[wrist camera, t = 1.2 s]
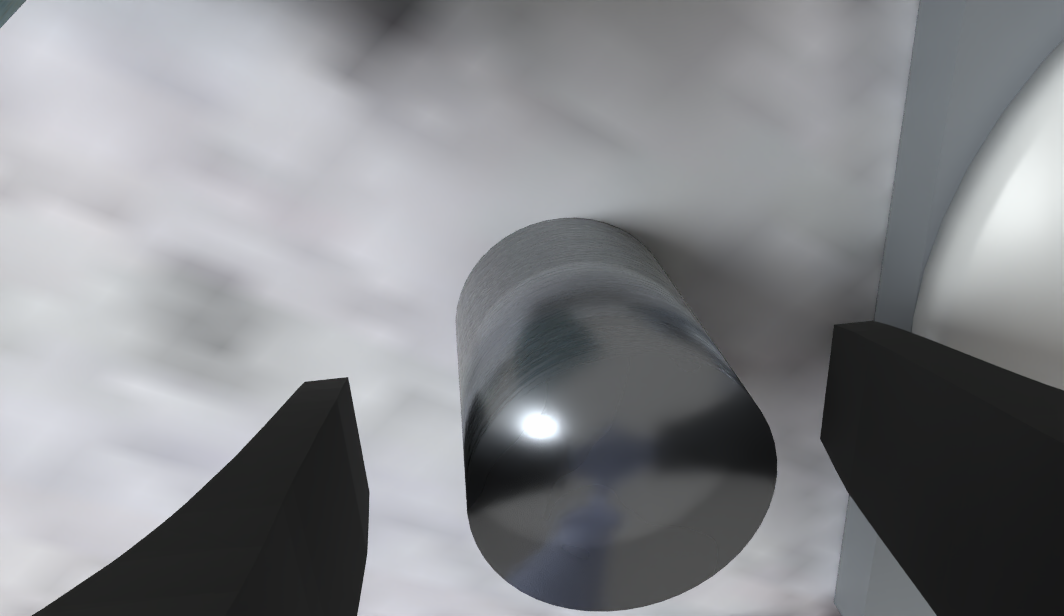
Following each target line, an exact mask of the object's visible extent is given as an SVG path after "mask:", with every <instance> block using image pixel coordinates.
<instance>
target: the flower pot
mask: <svg viewBox="0 0 1064 616" xmlns="http://www.w3.org/2000/svg"><path fill="white" fill-rule="evenodd" d="M25 1H26V0H0V28H1V27H2V26H3V25H4V24H5V23H6V22H7V20H8V19H9V18H10V17H11V16H12V15H13V14H14V13H15V12H16V11H17V10H18V9H19V8H20V7H21V5H22V4H23V3H24V2H25Z"/></svg>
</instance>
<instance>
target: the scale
mask: <svg viewBox="0 0 1064 616" xmlns="http://www.w3.org/2000/svg"><path fill="white" fill-rule="evenodd" d="M874 321H877V322H880V323H884V324H888V325H891V326H894V327H897V328H900V329H903V330H906V331H909V332H911V333H914V334H917V335H919V336H922V337H925V338H927V339H930V340H933V341H935V342H938V343H940V344H943V345H945V346H948V347H950V348H953V349H955V350H958V351H961V352H963V353H966V354H968V355H971V356H973V357H976V358H978V359H981V360H983V361H986V362H988V363H991V364H994V365H996V366H999V367H1001V368H1004V369H1006V370H1009V371H1012V372H1014V373H1017V374H1020V375H1022V376H1025V377H1028V378H1030V379H1033V380H1036V381H1038V382H1041V383H1044V384H1047V385H1049V386H1052V387H1055V388H1058V389H1061V390H1064V0H920V3H919V10H918V17H917V24H916V31H915V38H914V45H913V52H912V59H911V66H910V73H909V80H908V87H907V94H906V101H905V108H904V115H903V122H902V129H901V136H900V143H899V150H898V157H897V164H896V171H895V178H894V185H893V192H892V199H891V206H890V213H889V220H888V227H887V234H886V241H885V248H884V255H883V262H882V269H881V276H880V283H879V290H878V297H877V304H876V311H875V318H874ZM834 604H835V605H836V607H837V609H838V610H839V612H840V613H841V615H842V616H937V615H936V614H935V613H934V611H933V610H932V608H931V607H930V606H929V604H928V603H927V602H926V600H925V599H924V597H923V596H922V595H921V593H920V592H919V591H918V589H917V588H916V586H915V585H914V584H913V582H912V581H911V580H910V578H909V577H908V576H907V574H906V573H905V571H904V570H903V569H902V567H901V566H900V565H899V563H898V562H897V560H896V559H895V558H894V556H893V555H892V554H891V552H890V551H889V549H888V548H887V547H886V545H885V544H884V543H883V541H882V540H881V539H880V537H879V536H878V534H877V533H876V532H875V530H874V529H873V527H872V526H871V525H870V523H869V522H868V520H867V519H866V518H865V516H864V515H863V513H862V512H861V511H860V509H859V508H858V506H857V505H856V503H855V502H854V501H853V499H852V498H851V496H850V495H849V500H848V507H847V514H846V521H845V528H844V535H843V542H842V549H841V556H840V563H839V570H838V577H837V584H836V591H835V598H834Z"/></svg>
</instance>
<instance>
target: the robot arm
mask: <svg viewBox="0 0 1064 616" xmlns="http://www.w3.org/2000/svg"><path fill="white" fill-rule="evenodd" d="M820 439H821V441H822V443H823V445H824V447H825V449H826V451H827V453H828V455H829V457H830V459H831V461H832V463H833V465H834V467H835V469H836V471H837V473H838V475H839V477H840V479H841V480H842V482H843V484H844V486H845V488H846V490H847V491H848V493H849V495H850V496H851V498H852V499H853V501H854V502H855V503H856V505H857V506H858V508H859V509H860V511H861V512H862V513H863V515H864V516H865V518H866V519H867V520H868V522H869V523H870V525H871V526H872V527H873V529H874V530H875V532H876V533H877V534H878V536H879V537H880V539H881V540H882V541H883V543H884V544H885V545H886V547H887V548H888V549H889V551H890V552H891V554H892V555H893V556H894V558H895V559H896V560H897V562H898V563H899V565H900V566H901V567H902V569H903V570H904V571H905V573H906V574H907V576H908V577H909V578H910V580H911V581H912V582H913V584H914V585H915V586H916V588H917V589H918V591H919V592H920V593H921V595H922V596H923V597H924V599H925V600H926V602H927V603H928V604H929V606H930V607H931V608H932V610H933V611H934V613H935V614H936V615H937V616H1064V390H1061V389H1058V388H1055V387H1052V386H1049V385H1047V384H1044V383H1041V382H1038V381H1036V380H1033V379H1030V378H1028V377H1025V376H1022V375H1020V374H1017V373H1014V372H1012V371H1009V370H1006V369H1004V368H1001V367H999V366H996V365H994V364H991V363H988V362H986V361H983V360H981V359H978V358H976V357H973V356H971V355H968V354H966V353H963V352H961V351H958V350H955V349H953V348H950V347H948V346H945V345H943V344H940V343H938V342H935V341H933V340H930V339H927V338H925V337H922V336H919V335H917V334H914V333H911V332H909V331H906V330H903V329H900V328H897V327H894V326H891V325H888V324H884V323H880V322H877V321H866V322H857V323H848V324H838V325H834V330H833V338H832V346H831V355H830V363H829V371H828V379H827V387H826V395H825V404H824V412H823V420H822V428H821V436H820ZM368 523H369V488H368V482H367V477H366V471H365V466H364V461H363V455H362V450H361V445H360V439H359V434H358V428H357V423H356V418H355V412H354V407H353V402H352V396H351V391H350V385H349V380H348V377H346V378H337V379H327V380H318V381H309V382H304V383H303V384H302V385H301V386H300V387H299V388H298V389H297V390H296V392H295V393H294V394H293V395H292V396H291V397H290V398H289V399H288V400H287V401H286V403H285V404H284V405H283V406H282V407H281V408H280V409H279V410H278V411H277V413H276V414H275V415H274V416H273V417H272V418H271V419H270V420H269V421H268V422H267V424H266V425H265V426H264V427H263V428H262V429H261V430H260V431H259V432H258V433H257V434H256V435H255V436H254V437H253V438H252V439H251V441H250V442H249V443H248V444H247V445H246V446H245V447H244V448H243V449H242V450H241V451H240V452H239V453H238V454H237V455H236V456H235V457H234V458H233V459H232V460H231V461H230V462H229V463H228V464H227V465H226V466H225V467H224V468H223V469H222V470H221V471H220V472H219V473H218V474H217V475H215V476H214V477H213V478H212V479H211V480H210V481H209V482H208V483H207V484H206V485H205V486H204V487H203V488H202V489H201V490H200V491H199V492H197V493H196V494H195V495H194V496H193V497H192V498H191V499H190V500H189V501H188V502H187V503H186V504H185V505H183V506H182V507H181V508H180V509H179V510H178V511H177V512H175V513H174V514H173V515H172V516H171V517H169V518H168V519H167V520H166V521H165V522H163V523H162V524H161V525H160V526H159V527H157V528H156V529H155V530H154V531H152V532H151V533H150V534H148V535H147V536H146V537H145V538H143V539H142V540H141V541H139V542H138V543H137V544H136V545H134V546H133V547H132V548H130V549H129V550H128V551H127V552H125V553H124V554H123V555H121V556H120V557H118V558H117V559H116V560H114V561H113V562H112V563H110V564H109V565H107V566H106V567H104V568H103V569H101V570H100V571H98V572H97V573H95V574H94V575H92V576H91V577H89V578H88V579H86V580H85V581H83V582H82V583H80V584H79V585H78V586H76V587H75V588H73V589H72V590H70V591H69V592H67V593H66V594H64V595H63V596H61V597H60V598H58V599H57V600H55V601H54V602H52V603H51V604H49V605H48V606H46V607H45V608H43V609H42V610H40V611H38V612H37V613H35V614H34V615H32V616H357V613H358V607H359V601H360V595H361V589H362V583H363V577H364V570H365V564H366V558H367V546H368Z"/></svg>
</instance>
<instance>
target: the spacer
mask: <svg viewBox="0 0 1064 616" xmlns="http://www.w3.org/2000/svg"><path fill="white" fill-rule="evenodd" d="M456 336H457V353H458V369H459V385H460V402H461V418H462V434H463V450H464V467H465V483H466V499H467V514H468V519H469V524H470V529H471V532H472V534H473V537H474V539H475V542H476V544H477V546H478V548H479V550H480V551H481V553H482V555H483V556H484V558H485V559H486V561H487V562H488V563H489V564H490V566H491V567H492V568H493V569H494V570H495V571H496V572H497V573H498V574H499V575H500V576H501V577H502V578H503V579H504V580H506V581H507V582H508V583H509V584H511V585H512V586H514V587H515V588H517V589H518V590H520V591H521V592H523V593H525V594H527V595H529V596H531V597H533V598H535V599H538V600H540V601H543V602H546V603H549V604H552V605H555V606H560V607H564V608H568V609H575V610H583V611H617V610H627V609H633V608H638V607H644V606H647V605H651V604H654V603H658V602H662V601H664V600H667V599H669V598H672V597H675V596H677V595H680V594H682V593H684V592H686V591H688V590H690V589H692V588H694V587H696V586H698V585H699V584H701V583H702V582H704V581H705V580H707V579H709V578H710V577H712V576H713V575H715V574H716V573H717V572H718V571H720V570H721V569H722V568H724V567H725V566H726V565H727V564H728V563H729V562H730V561H731V560H733V559H734V558H735V557H736V556H737V555H738V554H739V553H740V552H741V551H742V549H743V548H744V547H745V546H746V544H747V543H748V542H749V541H750V540H751V538H752V537H753V535H754V534H755V532H756V531H757V529H758V528H759V526H760V525H761V523H762V521H763V519H764V517H765V515H766V513H767V510H768V508H769V506H770V502H771V499H772V496H773V493H774V489H775V483H776V477H777V456H776V449H775V442H774V439H773V436H772V433H771V430H770V427H769V425H768V423H767V421H766V419H765V417H764V416H763V414H762V412H761V410H760V409H759V408H758V406H757V405H756V403H755V402H754V400H753V399H752V397H751V396H750V395H749V393H748V392H747V390H746V389H745V387H744V386H743V384H742V383H741V382H740V380H739V379H738V377H737V376H736V374H735V373H734V371H733V370H732V369H731V367H730V366H729V364H728V363H727V361H726V360H725V359H724V357H723V356H722V354H721V353H720V351H719V350H718V348H717V347H716V346H715V344H714V343H713V341H712V340H711V338H710V337H709V335H708V334H707V333H706V331H705V330H704V328H703V327H702V325H701V324H700V322H699V321H698V320H697V318H696V317H695V315H694V314H693V312H692V311H691V309H690V308H689V307H688V305H687V304H686V302H685V301H684V299H683V298H682V297H681V295H680V294H679V292H678V291H677V289H676V288H675V286H674V285H673V284H672V282H671V281H670V279H669V278H668V276H667V275H666V273H665V272H664V271H663V269H662V268H661V266H660V265H659V263H658V262H657V261H656V259H655V258H654V257H653V255H652V254H651V253H650V251H649V250H648V249H647V248H646V247H645V246H644V245H643V244H642V243H641V242H639V241H638V240H637V239H635V238H634V237H633V236H631V235H630V234H628V233H626V232H624V231H623V230H621V229H619V228H617V227H614V226H612V225H609V224H606V223H604V222H599V221H595V220H590V219H581V218H560V219H553V220H547V221H543V222H539V223H536V224H532V225H529V226H527V227H525V228H522V229H520V230H518V231H516V232H514V233H512V234H511V235H509V236H507V237H506V238H504V239H502V240H501V241H500V242H499V243H497V244H496V245H495V246H493V247H492V248H491V249H490V250H489V251H488V252H487V253H486V254H485V255H484V256H483V257H482V258H481V259H480V261H479V262H478V263H477V264H476V266H475V267H474V268H473V270H472V271H471V273H470V275H469V277H468V278H467V280H466V282H465V284H464V287H463V289H462V292H461V294H460V298H459V302H458V306H457V314H456Z"/></svg>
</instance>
